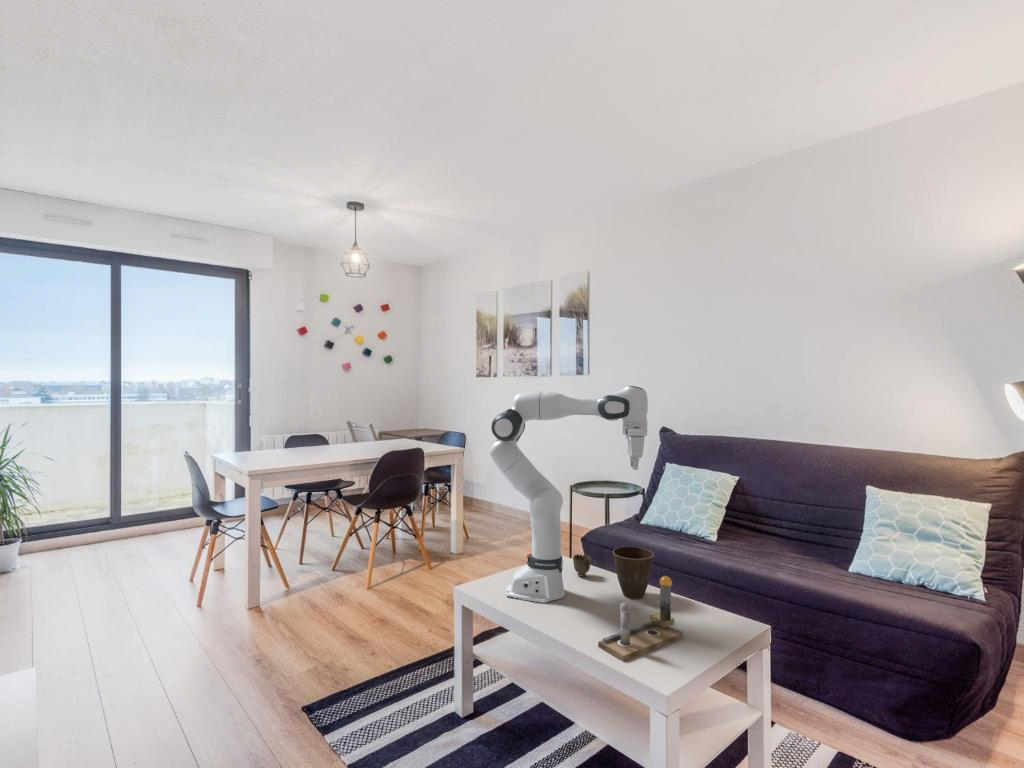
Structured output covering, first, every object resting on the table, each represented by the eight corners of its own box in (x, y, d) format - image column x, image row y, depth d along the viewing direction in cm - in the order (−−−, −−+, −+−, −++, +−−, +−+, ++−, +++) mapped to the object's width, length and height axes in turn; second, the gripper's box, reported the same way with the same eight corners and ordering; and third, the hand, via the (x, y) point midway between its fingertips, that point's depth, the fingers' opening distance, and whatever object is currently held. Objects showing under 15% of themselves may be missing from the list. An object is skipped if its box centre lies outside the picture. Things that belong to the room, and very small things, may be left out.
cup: (587, 580, 207) (587, 560, 207) (570, 577, 210) (570, 557, 210) (593, 574, 213) (593, 555, 213) (576, 571, 217) (576, 552, 217)
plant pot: (645, 607, 181) (645, 561, 181) (606, 597, 189) (606, 553, 190) (659, 593, 193) (659, 551, 194) (621, 585, 202) (621, 544, 202)
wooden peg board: (657, 625, 166) (657, 583, 166) (682, 637, 158) (682, 593, 158) (598, 646, 152) (598, 601, 152) (623, 661, 143) (623, 613, 144)
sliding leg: (658, 619, 166) (658, 570, 166) (675, 627, 161) (675, 576, 161) (649, 623, 163) (649, 573, 164) (665, 630, 158) (665, 579, 159)
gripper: (624, 429, 198) (623, 465, 198) (628, 430, 178) (627, 470, 177) (640, 429, 197) (640, 465, 197) (646, 431, 177) (646, 471, 176)
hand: (634, 468), depth 187 cm, fingers open, 8 cm apart
